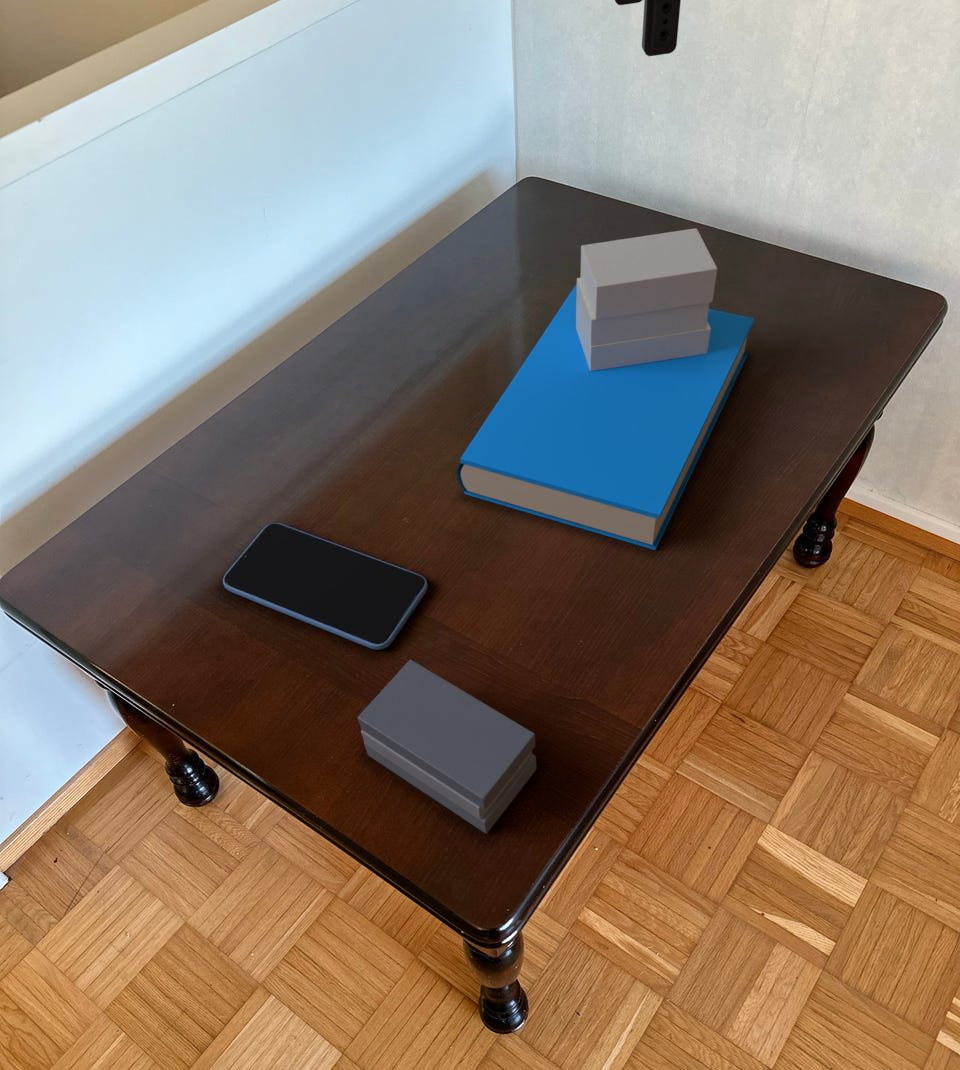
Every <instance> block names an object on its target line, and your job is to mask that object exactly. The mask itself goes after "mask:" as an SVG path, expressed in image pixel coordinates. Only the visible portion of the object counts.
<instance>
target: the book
mask: <svg viewBox="0 0 960 1070" xmlns="http://www.w3.org/2000/svg"><path fill="white" fill-rule="evenodd" d="M576 304H577V283H576V284H575V285H574V287H573V289H571V292H570V293H569V294H568V296H567V298H565V300H564V302H563V304H562V305H561V307H560V308H559V310H558V311H557V312H556V314H555V315H554V317H553V318H552V320H551V322H550V323H549V324H548V326H547V327H546V329H545V331H544V332H543V333H542V335H541V336H540V338H539V340H538V341H537V343H536V344H535V345H534V347H533V348H532V350H531V351H530V353H529V354H528V356H527V358H526V359H525V360H524V362H523V364H522V365H521V366H520V368H519V369H518V371H517V372H516V374H515V375H514V377H513V378H512V380H511V382H510V383H509V385H508V386H507V387H506V389H505V390H504V392H503V394H502V395H501V396H500V398H499V399H498V402H497V403H496V404H495V406H494V407H493V409H492V410H491V412H490V413H489V415H488V416H487V418H486V419H485V421H484V422H483V424H482V425H481V427H480V428H479V430H478V431H477V433H476V434H475V436H474V437H473V439H472V440H471V441H470V443H469V445H468V446H467V448H466V449H465V451H464V453H463V454H462V455H461V457H460V458H459V461H460V463H459V465H458V466H457V470H456V478H457V482H458V484H459V486H460V488H461V489H462V490H463V494H464V495H467V496H470V497H473V498H477V499H480V500H483V501H487V502H490V503H493V504H496V505H499V506H500V505H501V506H504V507H507V508H511V509H514V510H517V511H520V512H524V513H527V514H531V515H534V516H537V517H541V518H545V519H548V520H551V521H554V522H558V523H562V524H565V525H567V526H572V527H574V528H575V527H576V528H578V529H582V530H585V531H589V532H593V533H596V534H600V535H602V536H606V537H610V538H613V539H616V540H620V541H623V542H626V543H630V544H633V545H637V546H639V547H643V548H647V549H650V550H653V551H656V550H657V548H658V545H659V544H660V541H661V540H662V537H663V535H664V533H665V531H666V529H667V526H668V525H669V523H670V520H671V518H672V516H673V514H674V512H675V509H676V507H677V505H678V503H679V501H680V499H681V497H682V495H683V493H684V491H685V489H686V486H687V484H688V482H689V480H690V478H691V475H692V474H693V471H694V469H695V467H696V465H697V463H698V461H699V459H700V456H701V454H702V453H703V450H704V448H705V446H706V444H707V442H708V440H709V438H710V435H711V433H712V431H713V429H714V427H715V425H716V423H717V421H718V419H719V417H720V414H721V412H722V410H723V408H724V406H725V404H726V401H727V399H728V397H729V395H730V393H731V391H732V389H733V387H734V385H735V382H736V380H737V378H738V376H739V374H740V372H741V370H742V367H743V366H744V363H745V362H746V359H747V357H748V354H749V352H748V351H746V345H747V340H748V336H749V333H750V332H751V329H752V328H753V325H754V322H755V318H754V317H750V316H746V315H740V314H736V313H730V312H726V311H721V310H716V309H712V308H709V310H708V317H707V322H708V324H709V326H710V328H711V331H710V337H709V344H708V351H707V354H702V355H695V356H689V357H682V358H675V359H669V360H662V361H655V362H649V363H642V364H635V365H629V366H622V367H615V368H609V369H602V370H596V371H590V369H589V366H588V363H587V360H586V357H585V354H584V351H583V348H582V345H581V342H580V339H579V336H578V333H577V330H576Z"/></svg>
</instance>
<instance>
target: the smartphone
mask: <svg viewBox="0 0 960 1070" xmlns="http://www.w3.org/2000/svg"><path fill="white" fill-rule="evenodd" d="M222 584H223V586H224V588H225V589H226V590H227V591H229V592H230V593H232V594H234V595H238V596H240V597H243V598H245V599H248V600H249V601H252V602H255V603H257V604H260V605H263V606H264V607H267V608H270V609H273V610H275V611H277V612H279V613H282V614H285V615H287V616H290V617H292V618H295V619H297V620H299V621H301V622H304V623H307V624H310V625H312V626H315V627H316V628H319V629H322V630H324V631H327V632H328V633H329V632H330V633H332V634H334V635H337V636H339V637H342V638H344V639H347V640H349V641H351V642H354V643H356V644H359V645H361V646H364V647H367V648H369V649H372V650H376V651H381V650H385V649H386V648H388V647H390V645H391V644H392V643H393V642H394V640H395V639H396V637H397V636H398V634H399V633H400V631H401V630H402V629H403V627H404V625H405V624H406V622H407V621H408V620H409V619H410V616H411V615H412V613H413V612H414V611H415V610H416V608H417V606H418V605H419V603H420V602H421V600H422V599H423V597H424V596H425V595H426V593H427V591H428V581H427V579H426V578H425V577H424V576H423V575H421V574H419V573H416V572H414V571H411V570H409V569H406V568H403V567H401V566H397V565H395V564H392V563H390V562H388V561H387V562H386V561H384V560H381V559H378V558H376V557H374V556H370V555H367V554H365V553H363V552H360V551H356V550H354V549H351V548H349V547H346V546H343V545H341V544H338V543H335V542H332V541H330V540H327V539H324V538H322V537H319V536H316V535H313V534H311V533H308V532H305V531H302V530H301V529H297V528H294V527H292V526H289V525H286V524H283V523H280V522H272V523H269V524H267V525H266V526H265V527H264V528H263V529H261V531H260V532H259V533H258V534H257V535H256V537H255V538H254V539H253V540H252V542H251V543H250V544H249V545H248V546H247V547H246V549H244V550H243V552H242V554H241V555H240V556H239V557H238V558H237V559H236V561H235V562H234V563H233V564H232V565H231V567H230V568H229V569H228V570H227V571H226V573H225V574H224V576H223V578H222Z"/></svg>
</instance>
